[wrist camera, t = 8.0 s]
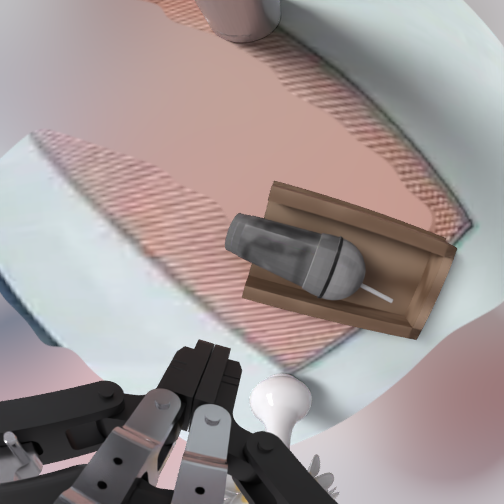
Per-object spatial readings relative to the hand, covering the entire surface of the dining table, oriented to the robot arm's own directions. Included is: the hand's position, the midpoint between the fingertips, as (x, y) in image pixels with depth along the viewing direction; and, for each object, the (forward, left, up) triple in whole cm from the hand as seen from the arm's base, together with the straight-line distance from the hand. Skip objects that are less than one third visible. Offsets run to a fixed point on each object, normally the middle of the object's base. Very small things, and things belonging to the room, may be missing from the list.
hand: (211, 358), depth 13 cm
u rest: (0, +12, -24) cm, 27 cm away
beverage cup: (0, -3, -22) cm, 22 cm away
